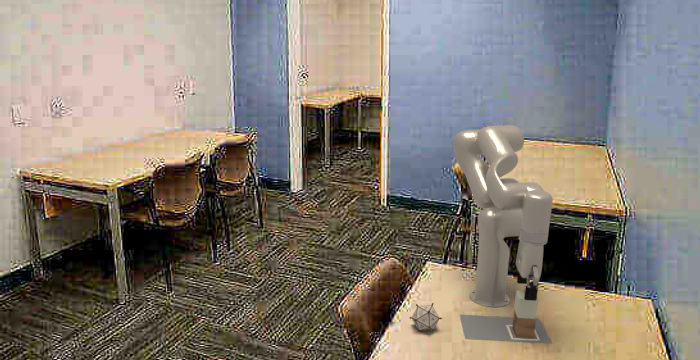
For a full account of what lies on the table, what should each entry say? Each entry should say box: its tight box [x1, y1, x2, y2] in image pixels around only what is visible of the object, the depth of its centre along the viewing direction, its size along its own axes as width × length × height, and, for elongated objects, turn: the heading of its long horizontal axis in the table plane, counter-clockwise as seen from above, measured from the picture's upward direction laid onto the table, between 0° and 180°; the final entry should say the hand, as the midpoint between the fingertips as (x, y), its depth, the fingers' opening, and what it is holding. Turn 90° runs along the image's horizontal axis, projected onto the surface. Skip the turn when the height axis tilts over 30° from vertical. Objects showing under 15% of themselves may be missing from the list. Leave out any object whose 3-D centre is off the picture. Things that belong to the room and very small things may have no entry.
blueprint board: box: [459, 314, 553, 345], centre depth 168 cm, size 14×24×1 cm, turn 86°
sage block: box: [513, 290, 539, 319], centre depth 163 cm, size 5×5×6 cm
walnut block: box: [512, 310, 536, 338], centre depth 165 cm, size 5×5×6 cm
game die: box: [408, 302, 443, 332], centre depth 166 cm, size 9×8×10 cm
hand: (526, 291), depth 163 cm, fingers open, 9 cm apart
